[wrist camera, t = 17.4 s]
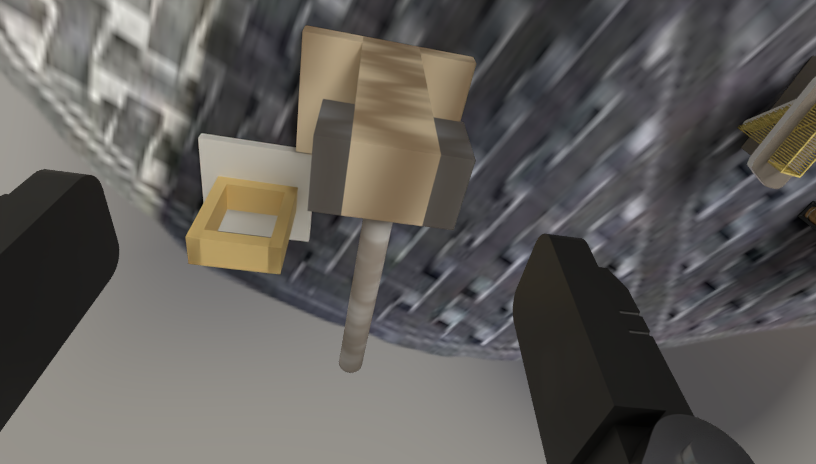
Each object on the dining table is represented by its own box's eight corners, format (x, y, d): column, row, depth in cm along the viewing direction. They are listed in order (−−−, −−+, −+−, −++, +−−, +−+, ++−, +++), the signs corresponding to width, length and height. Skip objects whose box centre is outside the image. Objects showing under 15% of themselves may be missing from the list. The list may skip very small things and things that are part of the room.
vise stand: (472, 57, 34) (526, 168, 21) (421, 246, 45) (436, 394, 32) (305, 25, 32) (255, 126, 20) (293, 230, 43) (256, 380, 30)
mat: (317, 150, 38) (315, 155, 37) (309, 236, 43) (308, 241, 43) (201, 133, 37) (198, 137, 36) (208, 223, 42) (205, 229, 41)
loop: (297, 187, 39) (281, 248, 33) (296, 211, 41) (280, 274, 34) (218, 176, 38) (185, 236, 32) (219, 200, 40) (188, 263, 33)
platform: (636, 178, 42) (672, 222, 36) (786, -49, 31) (866, -32, 26) (747, 205, 44) (796, 250, 39) (921, 2, 33) (1019, 27, 28)
